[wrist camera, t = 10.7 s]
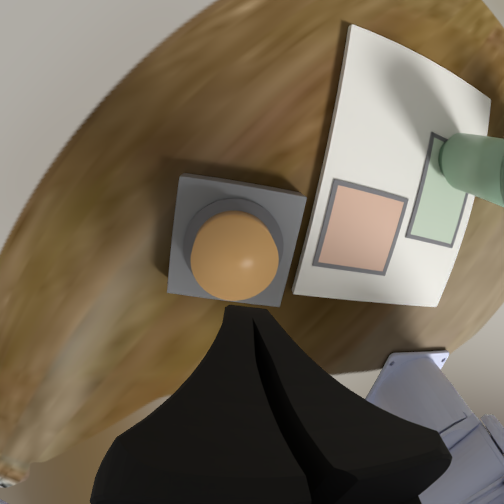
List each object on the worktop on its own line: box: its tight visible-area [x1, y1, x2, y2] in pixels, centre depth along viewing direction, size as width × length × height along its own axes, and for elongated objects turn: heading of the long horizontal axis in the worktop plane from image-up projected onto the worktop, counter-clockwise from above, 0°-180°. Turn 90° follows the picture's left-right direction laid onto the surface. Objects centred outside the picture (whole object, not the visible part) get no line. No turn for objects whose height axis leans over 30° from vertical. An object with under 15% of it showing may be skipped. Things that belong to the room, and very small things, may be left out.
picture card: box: [292, 24, 491, 307], centre depth 18 cm, size 18×13×1 cm
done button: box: [191, 210, 279, 301], centre depth 16 cm, size 4×4×2 cm
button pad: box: [167, 173, 307, 307], centre depth 18 cm, size 7×7×2 cm
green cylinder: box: [438, 133, 504, 207], centre depth 14 cm, size 4×4×7 cm
